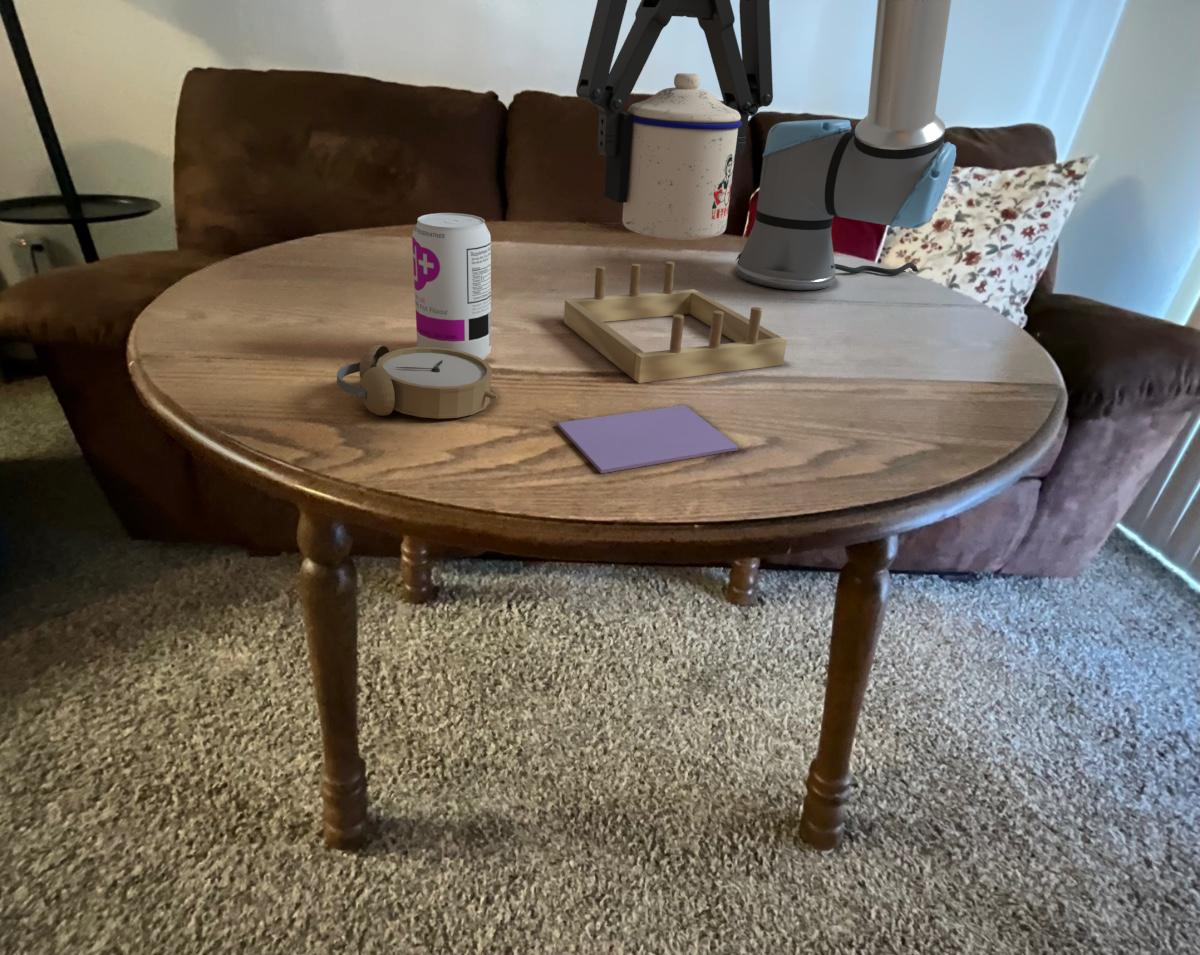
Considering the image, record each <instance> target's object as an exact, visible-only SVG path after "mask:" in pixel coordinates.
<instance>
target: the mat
mask: <svg viewBox="0 0 1200 955" xmlns="http://www.w3.org/2000/svg"><path fill="white" fill-rule="evenodd" d="M557 427H558V429H559V430H560V431H561V432H562V433H563V434H564V435H565V436H566V437H567V439H568V440H569V441H570V442H571V443H572V444H573V445H574V446H575V447H576V448H577V449H578V450H579V451H580V452H581V454H582V455H583V456H584V457H585V458H586V459H587V460H588V461H589V462H590V463H591V465H592V466H593V467H594V468H595V469H596V470H597V471H598V472H599V473H600V474H607V473H612V472H619V471H623V470H624V471H625V470H631V469H635V468H642V467H648V466H655V465H659V464H666V463H672V462H679V461H683V460H689V459H694V458H701V457H707V456H712V455H713V456H714V455H719V454H725V453H731V452H736V451H738V450H739V446H738V445H737V444H736V443H734V442H733V441H731V440H730V439H729V438H727V437H726V436H725V435H724V434H723V433H721V432H720V431H719V430H717V429H716V428H715V427H714V426H712V425H711V424H710V423H709V422H707V421H706V420H705V419H704V418H702V417H701V416H699V414H697V413H696V412H695V411H693V410H692V409H691V408H689V407H688V406H687V405H686V404H682V405H681V404H680V405H675V406H667V407H661V408H653V409H646V410H640V411H633V412H625V413H619V414H611V415H604V416H596V417H590V418H583V419H575V420H568V421H561V422H557Z"/></svg>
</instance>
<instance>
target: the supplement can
mask: <svg viewBox="0 0 1200 955" xmlns="http://www.w3.org/2000/svg"><path fill="white" fill-rule="evenodd" d="M485 222H486V220H485V219H484V218H482V217H481V216H477V215H474V214H467V213H457V212H439V213H429V214H424V215H421V216H418V217H417V223H416V224H415V226H414V229H413V231H412V234H411V241H412V244H411V245H412V262H413V264H412V265H413V282H414V283H413V284H414V303H415V305H414V307H415V325H416V347H437V348H448V349H453V350H458V351H462V352H466V353H469V354H472V355H474V356H477V357H479V358H481V359H482V360H484V361H485V359H486V358H487V357H488V355H489V354H490V353H492V269H491V268H492V262H491V261H492V256H491V255H492V254H491V252H492V250H491V248H492V244H491V242H492V241H491V240H492V239H491V238H492V237H491V233H490V231H489V229H488V227H487V225H486V223H485Z"/></svg>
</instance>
